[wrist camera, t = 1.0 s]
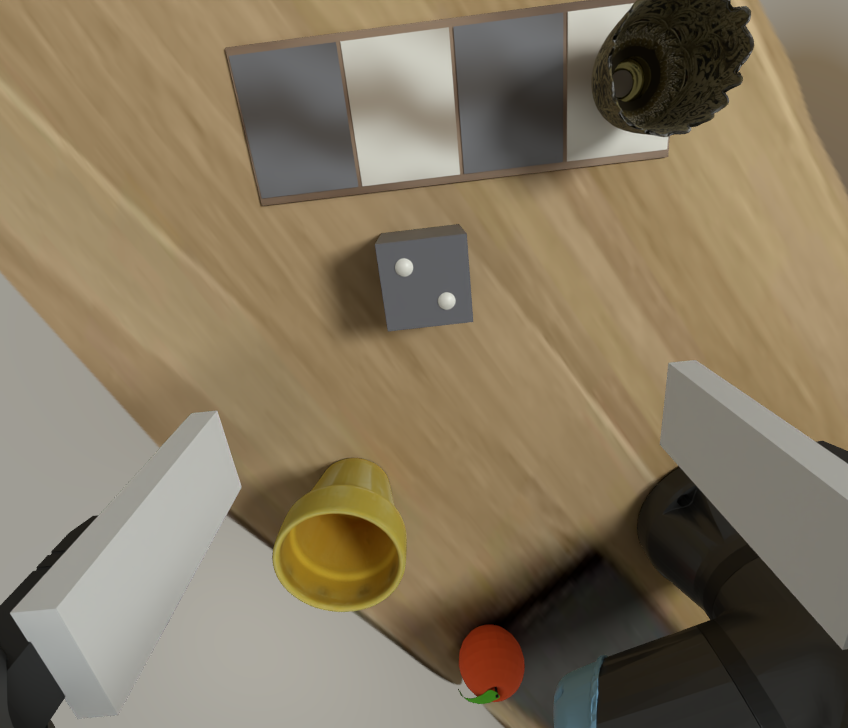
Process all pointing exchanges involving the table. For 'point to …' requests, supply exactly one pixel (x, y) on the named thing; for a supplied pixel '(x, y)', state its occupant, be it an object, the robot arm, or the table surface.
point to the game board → (432, 103)
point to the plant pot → (343, 540)
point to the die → (425, 277)
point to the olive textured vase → (672, 64)
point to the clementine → (491, 664)
